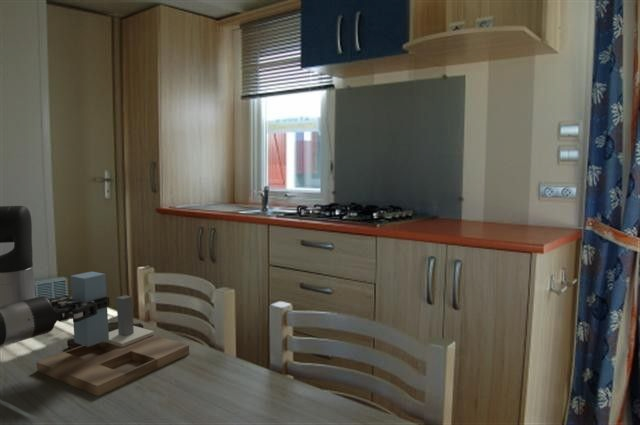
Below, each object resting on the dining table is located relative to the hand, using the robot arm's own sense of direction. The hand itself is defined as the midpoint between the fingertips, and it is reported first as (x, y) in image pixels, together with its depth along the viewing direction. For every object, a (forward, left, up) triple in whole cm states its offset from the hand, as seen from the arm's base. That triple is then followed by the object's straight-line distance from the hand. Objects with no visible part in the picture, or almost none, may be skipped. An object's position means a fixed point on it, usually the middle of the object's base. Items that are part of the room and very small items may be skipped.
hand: (100, 299), depth 109 cm
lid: (0, +6, -11) cm, 13 cm away
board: (+6, -1, -13) cm, 15 cm away
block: (0, -3, -9) cm, 9 cm away
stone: (-11, +7, -14) cm, 19 cm away
